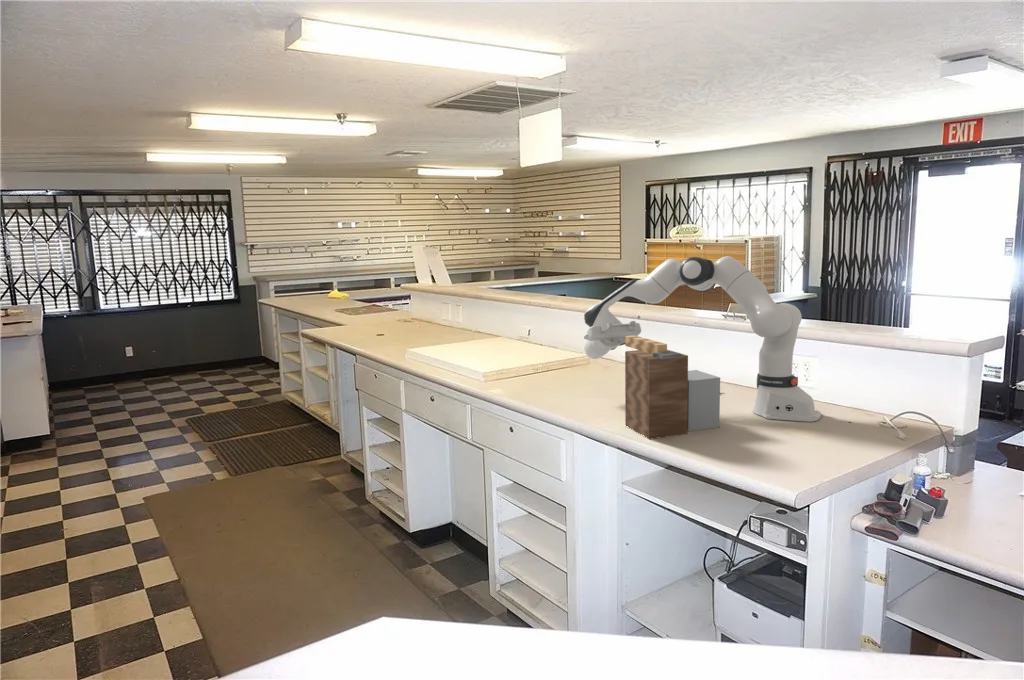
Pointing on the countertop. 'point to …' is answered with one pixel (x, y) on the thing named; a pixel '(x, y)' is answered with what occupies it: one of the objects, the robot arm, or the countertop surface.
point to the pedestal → (656, 394)
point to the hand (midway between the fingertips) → (622, 323)
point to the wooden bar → (651, 347)
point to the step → (703, 401)
